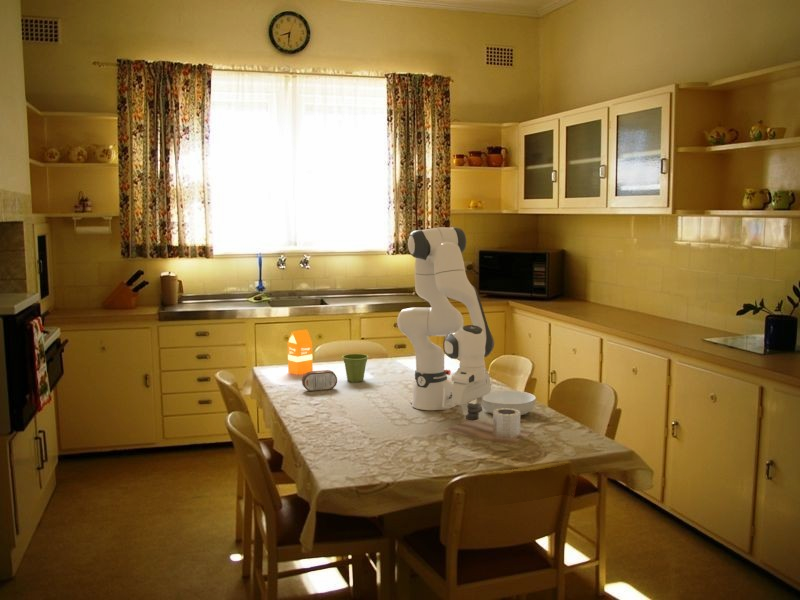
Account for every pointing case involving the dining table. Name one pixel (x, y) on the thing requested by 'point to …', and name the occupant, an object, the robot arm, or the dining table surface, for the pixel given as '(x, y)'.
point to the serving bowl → (509, 401)
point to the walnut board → (483, 431)
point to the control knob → (473, 411)
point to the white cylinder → (506, 423)
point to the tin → (319, 380)
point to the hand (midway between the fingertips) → (472, 411)
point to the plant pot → (355, 366)
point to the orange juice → (300, 352)
